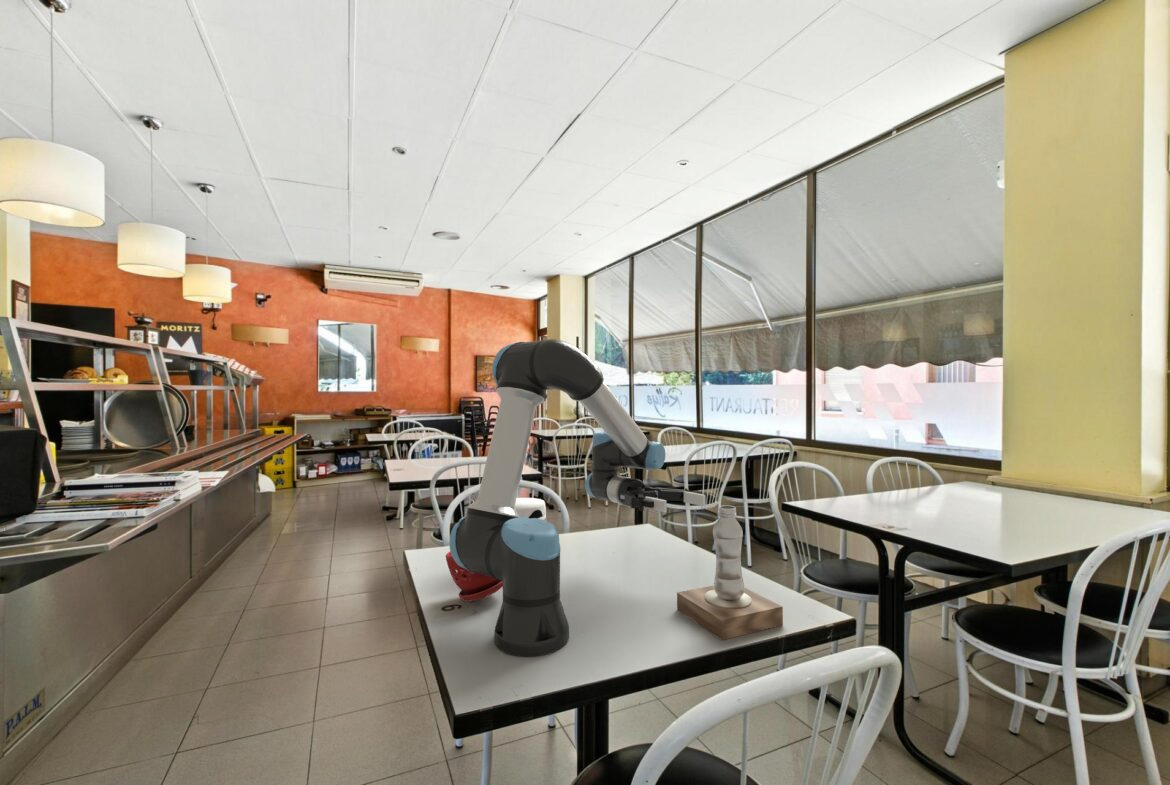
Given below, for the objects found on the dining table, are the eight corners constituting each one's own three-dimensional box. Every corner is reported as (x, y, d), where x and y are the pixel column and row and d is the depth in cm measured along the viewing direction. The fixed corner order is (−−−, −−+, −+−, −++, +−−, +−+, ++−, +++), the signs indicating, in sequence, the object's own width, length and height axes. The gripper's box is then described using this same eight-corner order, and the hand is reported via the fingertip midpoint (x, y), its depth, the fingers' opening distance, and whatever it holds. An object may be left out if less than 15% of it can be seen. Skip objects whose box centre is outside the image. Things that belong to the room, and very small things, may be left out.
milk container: (484, 559, 156) (483, 500, 156) (537, 551, 163) (537, 495, 163) (499, 577, 140) (498, 511, 140) (558, 567, 147) (557, 505, 148)
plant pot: (498, 598, 117) (483, 547, 117) (449, 609, 120) (434, 560, 120) (519, 575, 129) (505, 530, 130) (474, 587, 133) (460, 542, 133)
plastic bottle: (750, 597, 113) (748, 506, 113) (734, 606, 108) (732, 512, 108) (724, 589, 117) (722, 502, 117) (708, 598, 113) (706, 507, 113)
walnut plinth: (721, 640, 102) (721, 618, 102) (677, 609, 117) (676, 590, 117) (782, 625, 109) (782, 604, 109) (733, 598, 123) (733, 580, 123)
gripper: (659, 500, 147) (719, 513, 130) (590, 510, 132) (647, 526, 115) (660, 474, 147) (719, 483, 130) (590, 481, 132) (647, 492, 115)
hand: (685, 503), depth 122 cm, fingers open, 13 cm apart
